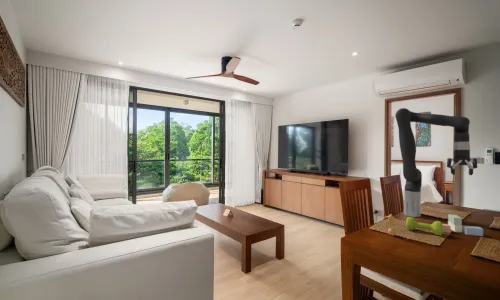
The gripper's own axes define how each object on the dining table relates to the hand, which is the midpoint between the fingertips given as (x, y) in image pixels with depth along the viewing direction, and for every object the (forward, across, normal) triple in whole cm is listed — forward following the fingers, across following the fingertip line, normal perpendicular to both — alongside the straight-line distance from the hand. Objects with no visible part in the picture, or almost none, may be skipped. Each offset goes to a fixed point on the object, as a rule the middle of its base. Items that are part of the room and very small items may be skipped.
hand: (461, 174), depth 143 cm
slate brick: (+30, +4, +22) cm, 38 cm away
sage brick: (+26, +10, +17) cm, 33 cm away
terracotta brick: (+30, +18, +22) cm, 42 cm away
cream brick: (+30, +10, +17) cm, 36 cm away
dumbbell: (+30, +28, +27) cm, 49 cm away
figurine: (+30, +46, +39) cm, 67 cm away
